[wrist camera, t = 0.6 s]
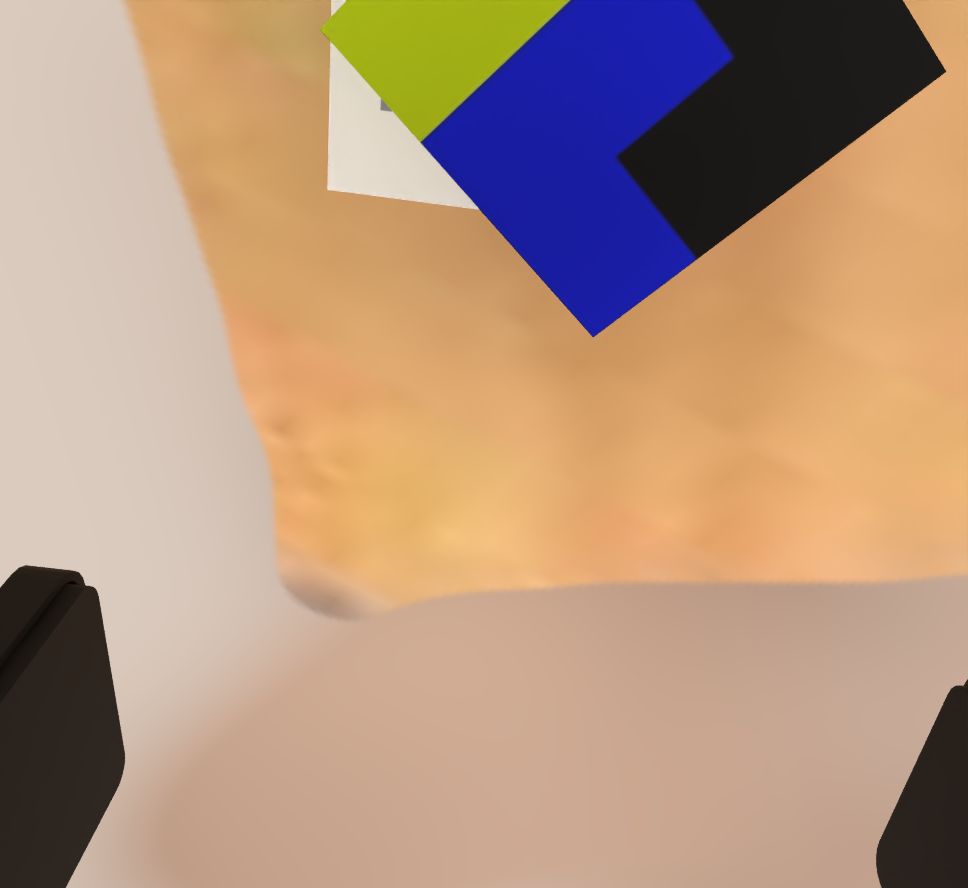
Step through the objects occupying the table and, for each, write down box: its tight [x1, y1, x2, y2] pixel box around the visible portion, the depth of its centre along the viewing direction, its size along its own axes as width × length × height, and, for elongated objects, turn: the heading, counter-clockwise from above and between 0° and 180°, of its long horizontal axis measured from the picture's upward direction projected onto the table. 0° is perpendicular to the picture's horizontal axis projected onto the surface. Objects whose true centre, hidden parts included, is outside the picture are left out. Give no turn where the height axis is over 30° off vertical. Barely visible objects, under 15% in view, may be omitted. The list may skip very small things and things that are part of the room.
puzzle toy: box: [320, 0, 946, 337], centre depth 25 cm, size 10×10×10 cm
